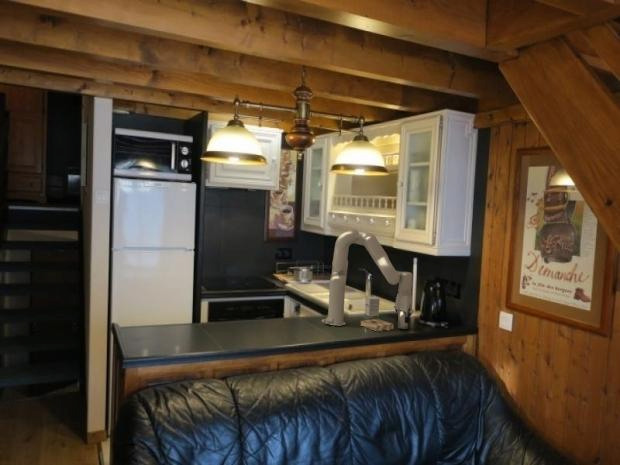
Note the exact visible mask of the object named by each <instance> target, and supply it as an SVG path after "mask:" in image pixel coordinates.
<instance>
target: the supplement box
mask: <svg viewBox="0 0 620 465" xmlns="http://www.w3.org/2000/svg"><path fill="white" fill-rule="evenodd" d="M364 299H365V301H364V302H365V304H364V315H365V314H366V315H368V316H378V317H379V316H380V315H379V310H380V298H379V297H377V296H365V298H364ZM366 315H365V316H366ZM368 316H367V317H368Z"/></svg>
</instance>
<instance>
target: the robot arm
mask: <svg viewBox="0 0 620 465" xmlns="http://www.w3.org/2000/svg"><path fill="white" fill-rule="evenodd" d="M352 244H356V245H360V246H364V247H365V249H366V251H367V252H368V254H369V255H370V256H371V258H372V260H373V261H374V263H375V265H377V267H378V269H379V270H380V271H381V273H382V275H383V276H384V278H385V279H386V281H387V282H388V284H390V285H393V286H394V285H397V284H398V289H397V291H398V293H397V295H396V298H395V303H394V304H395V305H394V306H393V308H394V311H395V314H396V321H397V322H398V311H399V310H398V308H399V309H402V311H403V312H405V313H406V317H405V323H408V324H409V323H410V318H411V316H412V315H413V314H414V312H415V311H414V309H413V297H412V296H413V295H412V288H413V287H412V286H413V285H412V283H413V274H412V272H409V271H399V270H396V268H395V266H394V265H393V264H392V262H391V260H390V259H389V256H388V254H387V252H386V251H385V250H384V248H383V247H382V244H380V242H379V240H378V239H377V237H376V235H375V234H373V233H369V232H365V231H361V230H358V229H354V228H351V229H348V230H346V231H344V232H342V233H341V234H340V235H338V236H337V239H336V241H335V245H334V251H333V259H332V263H331V264H332V269H331V276H330V278H329V289H328V290H329V295H328V296H329V297H328V311H327V316H326V318H322V319H321V322H322V323H324V324H325V323H326V324H330V325H338V326H341V325H345V324H346V322H345V321H344V317H345V315H344V314H345V298H346V297H345V296H346V282H347V275H348V266H349V261H348V256H349V247H350V246H351V245H352ZM408 310H409V311H408ZM326 324H325V325H326ZM346 325H347V324H346ZM346 325H345V326H346Z"/></svg>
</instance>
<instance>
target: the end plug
mask: <svg viewBox="0 0 620 465" xmlns="http://www.w3.org/2000/svg"><path fill="white" fill-rule="evenodd" d="M398 310H399V311H398V321H397V328H398V329H401V330H402V329H403V330H407V329H409V328H408V327H409V323H405V317H406V313H405V312H403V311H402V309H399V308H398ZM408 311H409V310H408Z"/></svg>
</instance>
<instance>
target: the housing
mask: <svg viewBox="0 0 620 465" xmlns="http://www.w3.org/2000/svg"><path fill="white" fill-rule="evenodd" d="M361 326H364V327H366V328H369V329H371V330H370V331H372V330H374V331H381V332H384V331H383V330H387V331H392V330H391V329H393V330H394V323H392V322H388V321H385V320H383V319H379V318H375V319H374V318H373V319H365V320H360V327H361ZM366 328H365V329H366ZM369 329H368V330H369ZM374 331H373V332H374Z"/></svg>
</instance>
